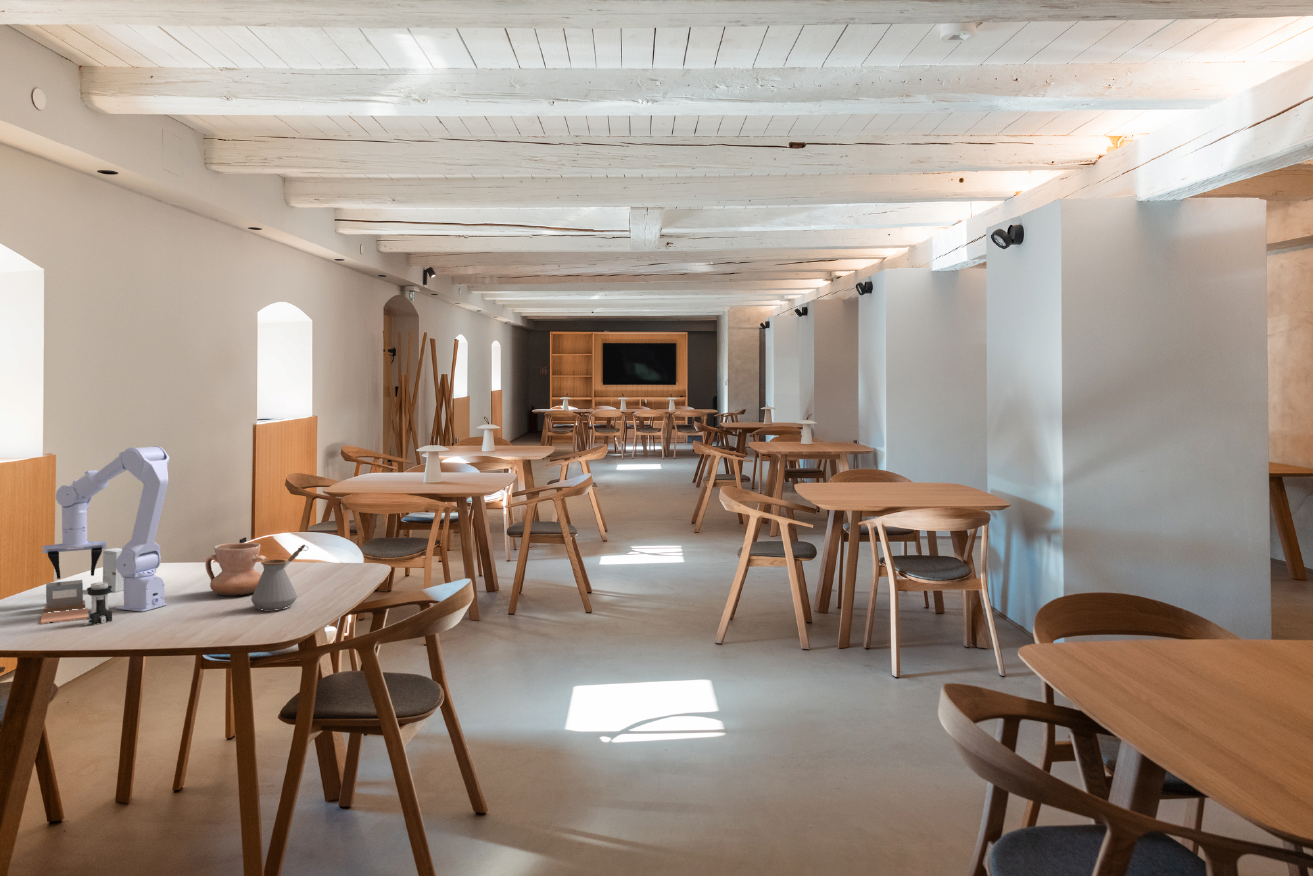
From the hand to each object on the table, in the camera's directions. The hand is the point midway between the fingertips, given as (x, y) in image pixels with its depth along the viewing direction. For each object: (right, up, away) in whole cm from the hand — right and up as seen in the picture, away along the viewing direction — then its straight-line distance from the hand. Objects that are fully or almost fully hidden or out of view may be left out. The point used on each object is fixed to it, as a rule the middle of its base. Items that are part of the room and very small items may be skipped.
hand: (75, 576), depth 233 cm
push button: (+19, -9, -20) cm, 29 cm away
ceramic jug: (+37, -7, +14) cm, 41 cm away
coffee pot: (+57, -8, +3) cm, 58 cm away
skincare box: (+1, -7, +17) cm, 18 cm away
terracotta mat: (+7, -8, -15) cm, 18 cm away
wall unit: (+1, -8, -6) cm, 10 cm away
